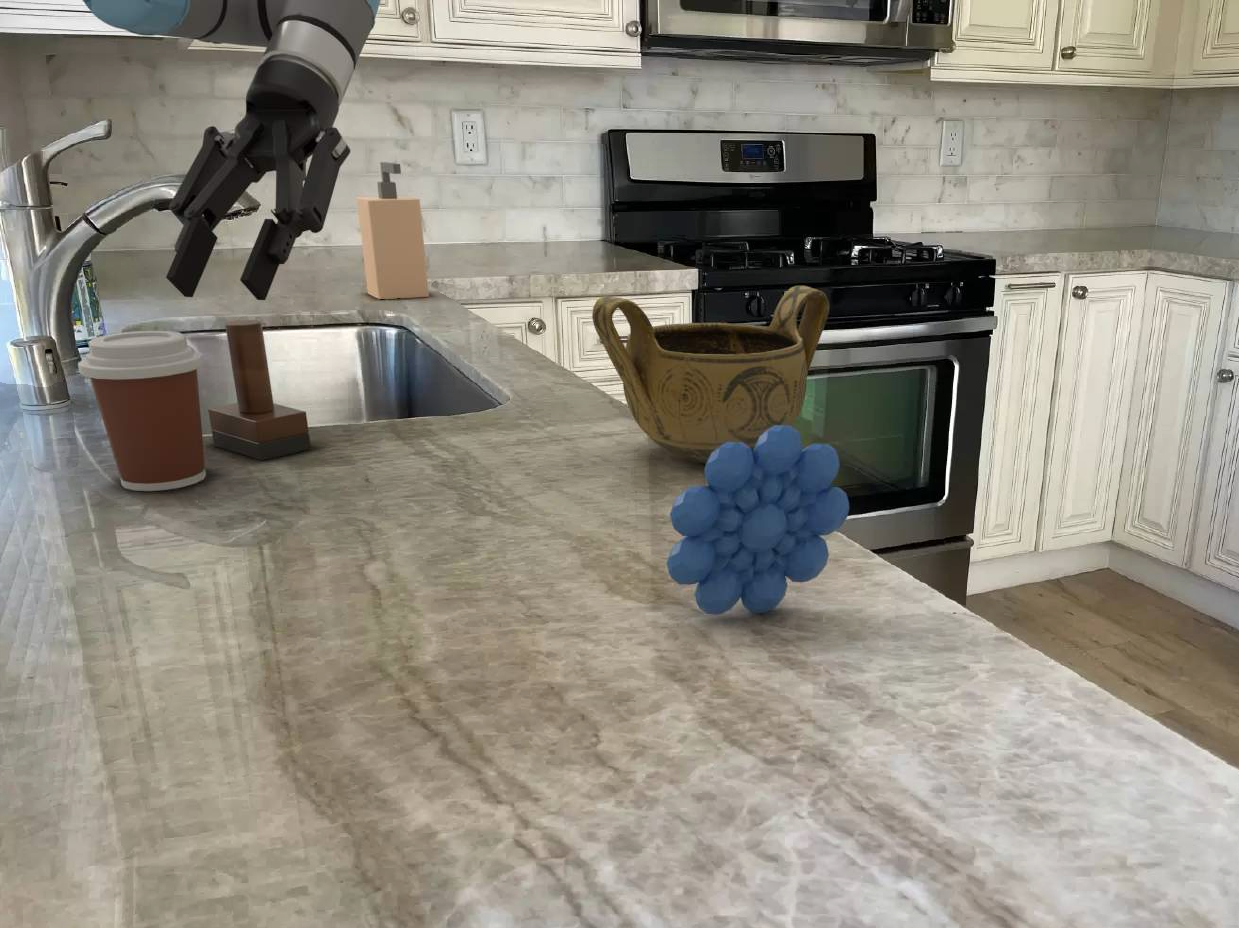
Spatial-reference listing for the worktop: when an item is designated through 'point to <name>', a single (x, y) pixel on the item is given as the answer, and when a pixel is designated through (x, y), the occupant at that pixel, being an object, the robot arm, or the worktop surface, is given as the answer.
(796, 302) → the ceramic bowl
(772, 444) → the blue flower shape
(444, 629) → the worktop surface
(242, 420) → the rubber stamp
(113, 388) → the coffee cup
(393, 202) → the soap dispenser
